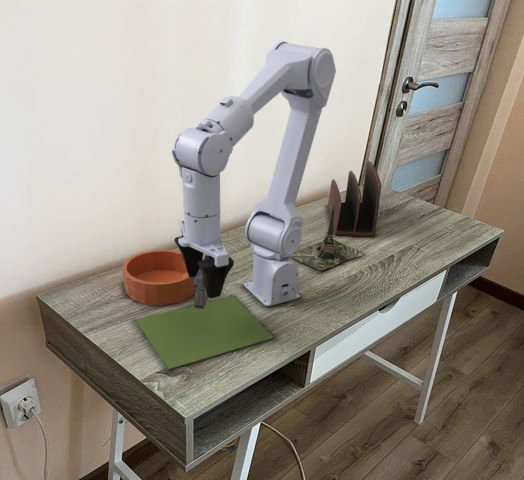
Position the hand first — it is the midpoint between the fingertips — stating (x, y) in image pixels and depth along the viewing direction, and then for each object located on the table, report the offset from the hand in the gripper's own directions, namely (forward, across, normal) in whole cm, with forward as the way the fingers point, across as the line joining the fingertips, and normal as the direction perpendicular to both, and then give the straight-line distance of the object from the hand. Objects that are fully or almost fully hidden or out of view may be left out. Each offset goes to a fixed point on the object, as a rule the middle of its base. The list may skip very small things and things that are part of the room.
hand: (204, 285), depth 91 cm
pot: (+9, -17, -2) cm, 19 cm away
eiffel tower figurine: (+9, -14, +38) cm, 41 cm away
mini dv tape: (+2, 0, 0) cm, 2 cm away
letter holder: (+9, -28, +55) cm, 63 cm away
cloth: (+9, +1, 0) cm, 9 cm away
